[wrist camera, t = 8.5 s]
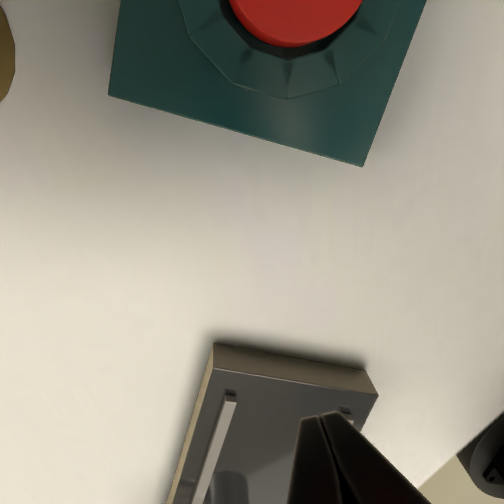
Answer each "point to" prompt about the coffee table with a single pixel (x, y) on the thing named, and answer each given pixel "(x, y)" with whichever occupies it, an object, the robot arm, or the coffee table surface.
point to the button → (293, 19)
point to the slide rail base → (258, 423)
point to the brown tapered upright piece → (6, 56)
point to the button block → (264, 72)
